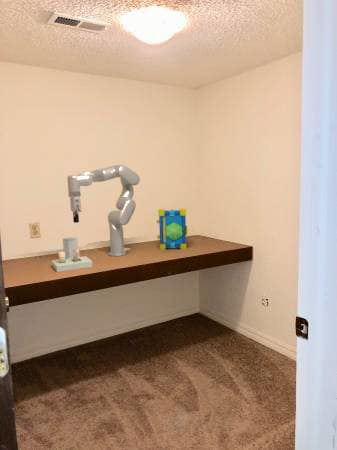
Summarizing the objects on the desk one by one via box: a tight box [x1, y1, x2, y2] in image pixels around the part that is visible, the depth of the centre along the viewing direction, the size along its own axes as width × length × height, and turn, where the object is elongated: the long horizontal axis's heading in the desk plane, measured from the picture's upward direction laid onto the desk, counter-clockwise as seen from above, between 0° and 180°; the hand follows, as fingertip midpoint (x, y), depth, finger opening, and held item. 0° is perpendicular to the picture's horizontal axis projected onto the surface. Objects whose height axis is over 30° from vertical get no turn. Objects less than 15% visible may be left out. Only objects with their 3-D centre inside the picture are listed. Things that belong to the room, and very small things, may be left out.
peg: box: [73, 249, 81, 262], centre depth 235 cm, size 4×4×10 cm
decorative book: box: [156, 207, 188, 251], centre depth 277 cm, size 14×23×30 cm, turn 89°
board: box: [51, 251, 93, 273], centre depth 233 cm, size 22×16×10 cm
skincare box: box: [62, 236, 79, 259], centre depth 252 cm, size 8×6×15 cm
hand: (76, 222), depth 239 cm, fingers closed
